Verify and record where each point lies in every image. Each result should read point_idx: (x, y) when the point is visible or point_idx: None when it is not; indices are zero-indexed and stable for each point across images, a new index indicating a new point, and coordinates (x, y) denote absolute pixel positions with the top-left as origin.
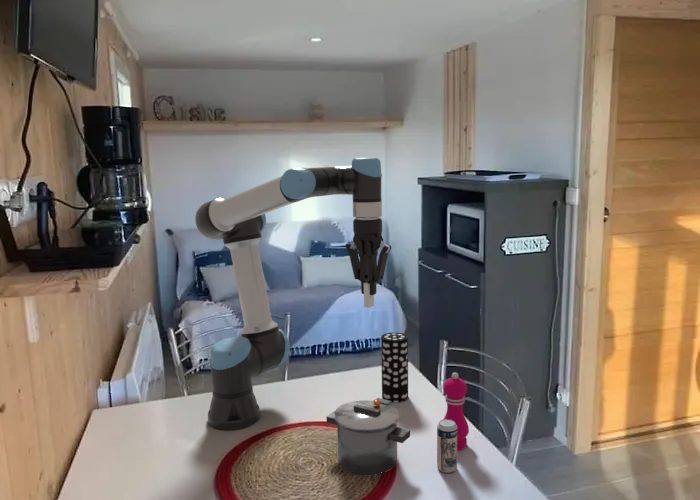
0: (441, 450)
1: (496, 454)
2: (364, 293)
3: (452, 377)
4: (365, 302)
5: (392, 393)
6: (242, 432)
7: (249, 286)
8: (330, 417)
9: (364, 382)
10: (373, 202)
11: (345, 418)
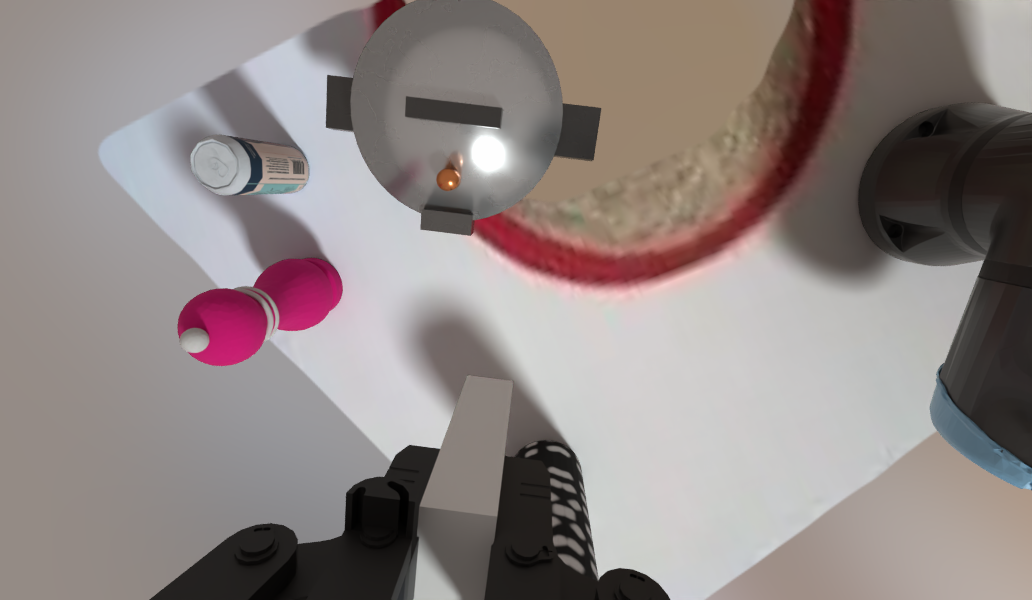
0: (263, 143)
1: (215, 279)
2: (497, 439)
3: (202, 330)
4: (496, 397)
5: (540, 454)
6: (869, 122)
7: None
8: (585, 106)
9: (661, 528)
10: None
11: (498, 31)
